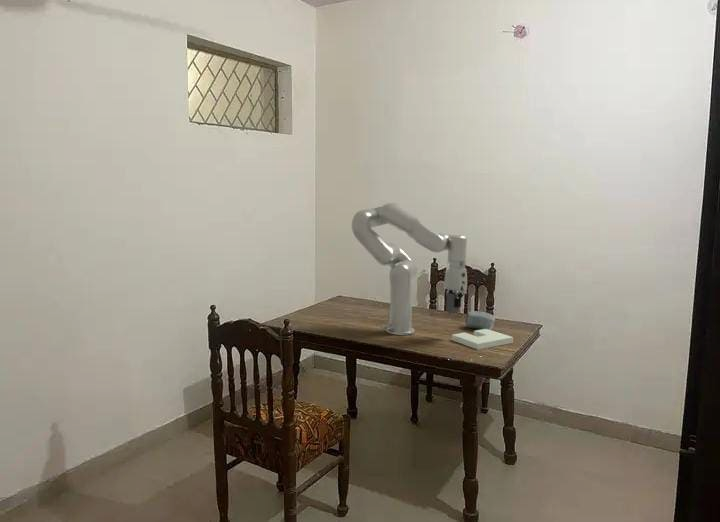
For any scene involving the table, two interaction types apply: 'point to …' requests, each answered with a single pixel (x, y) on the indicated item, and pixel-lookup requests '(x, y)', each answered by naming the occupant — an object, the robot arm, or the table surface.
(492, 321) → the streaked blue-grey ovoid
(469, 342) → the board
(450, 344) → the table surface
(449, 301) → the gray rectangular block
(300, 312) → the table surface
